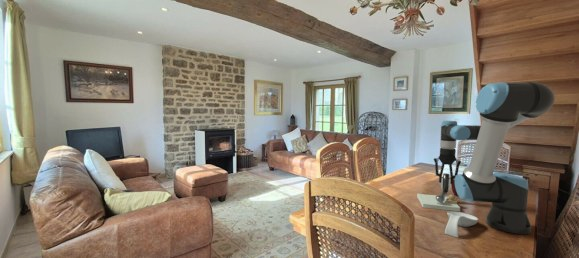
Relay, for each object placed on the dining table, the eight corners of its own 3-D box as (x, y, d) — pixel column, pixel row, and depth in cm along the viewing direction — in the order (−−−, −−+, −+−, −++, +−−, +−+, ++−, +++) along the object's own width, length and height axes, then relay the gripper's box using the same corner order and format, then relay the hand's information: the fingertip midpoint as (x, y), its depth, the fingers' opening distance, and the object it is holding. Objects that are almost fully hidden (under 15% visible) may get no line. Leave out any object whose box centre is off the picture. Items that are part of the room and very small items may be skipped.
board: (460, 211, 129) (460, 199, 129) (423, 207, 134) (423, 195, 134) (449, 200, 146) (450, 189, 146) (417, 196, 151) (417, 186, 151)
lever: (443, 201, 131) (444, 179, 131) (434, 199, 134) (435, 178, 133) (449, 194, 144) (450, 174, 143) (441, 192, 146) (442, 173, 146)
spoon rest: (450, 216, 123) (451, 202, 123) (480, 224, 115) (481, 208, 115) (435, 232, 107) (436, 215, 106) (469, 242, 98) (470, 224, 98)
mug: (472, 196, 153) (473, 180, 152) (469, 199, 147) (470, 182, 147) (452, 192, 161) (453, 177, 160) (448, 195, 155) (449, 179, 154)
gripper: (464, 148, 141) (462, 189, 143) (432, 146, 150) (429, 185, 151) (465, 150, 135) (462, 193, 136) (431, 147, 143) (429, 188, 145)
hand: (445, 188), depth 144 cm, fingers closed on lever, 3 cm apart
